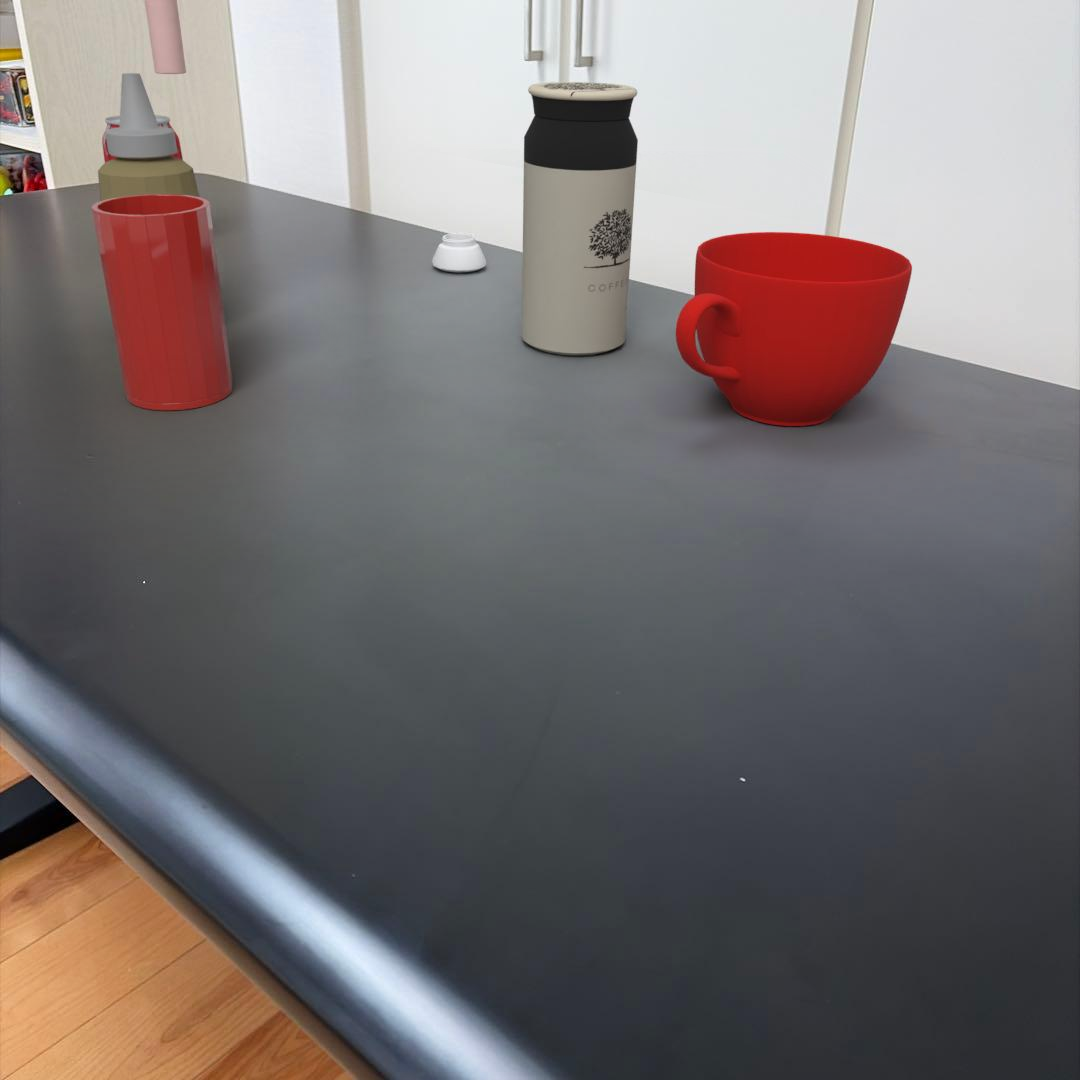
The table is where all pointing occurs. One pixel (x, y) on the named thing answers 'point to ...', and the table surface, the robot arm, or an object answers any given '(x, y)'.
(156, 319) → the red tumbler
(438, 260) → the lidless jar
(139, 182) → the squeeze bottle
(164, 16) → the straw
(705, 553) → the table surface
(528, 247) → the travel mug
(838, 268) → the ceramic cup
